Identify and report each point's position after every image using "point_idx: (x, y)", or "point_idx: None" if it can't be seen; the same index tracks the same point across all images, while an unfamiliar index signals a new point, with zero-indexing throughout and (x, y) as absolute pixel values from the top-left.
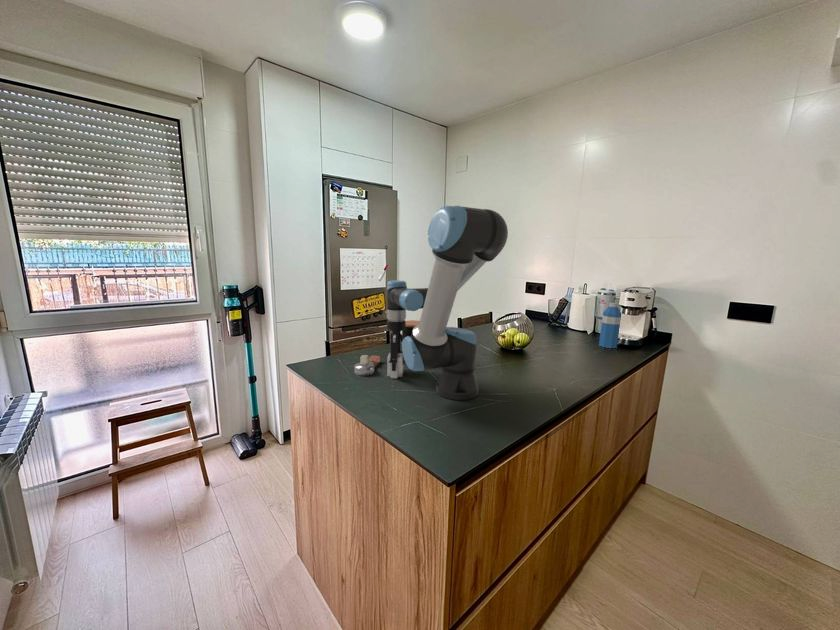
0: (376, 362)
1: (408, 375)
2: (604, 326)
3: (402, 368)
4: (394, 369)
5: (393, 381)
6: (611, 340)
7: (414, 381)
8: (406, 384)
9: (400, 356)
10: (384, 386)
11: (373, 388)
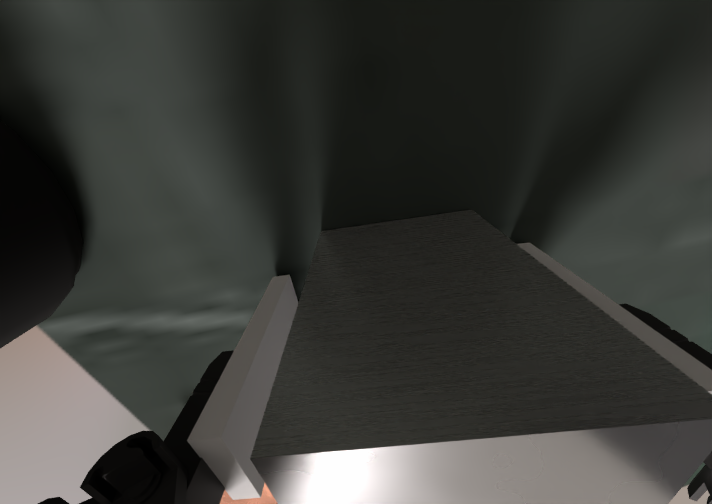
0: None
1: (420, 151)
2: None
3: (470, 248)
4: (654, 329)
5: (587, 256)
6: None
7: (623, 19)
8: (700, 109)
9: (593, 467)
10: (689, 293)
11: (705, 346)
